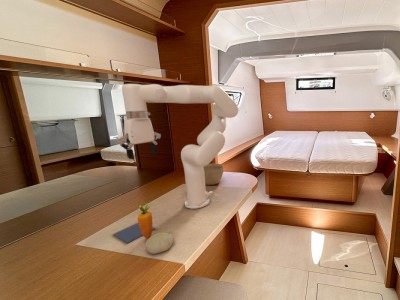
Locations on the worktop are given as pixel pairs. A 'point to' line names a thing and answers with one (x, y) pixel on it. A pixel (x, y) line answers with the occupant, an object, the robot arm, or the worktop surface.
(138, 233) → the napkin
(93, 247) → the worktop surface
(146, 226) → the carrot
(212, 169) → the planter bowl
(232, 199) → the worktop surface
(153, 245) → the sea urchin shell
